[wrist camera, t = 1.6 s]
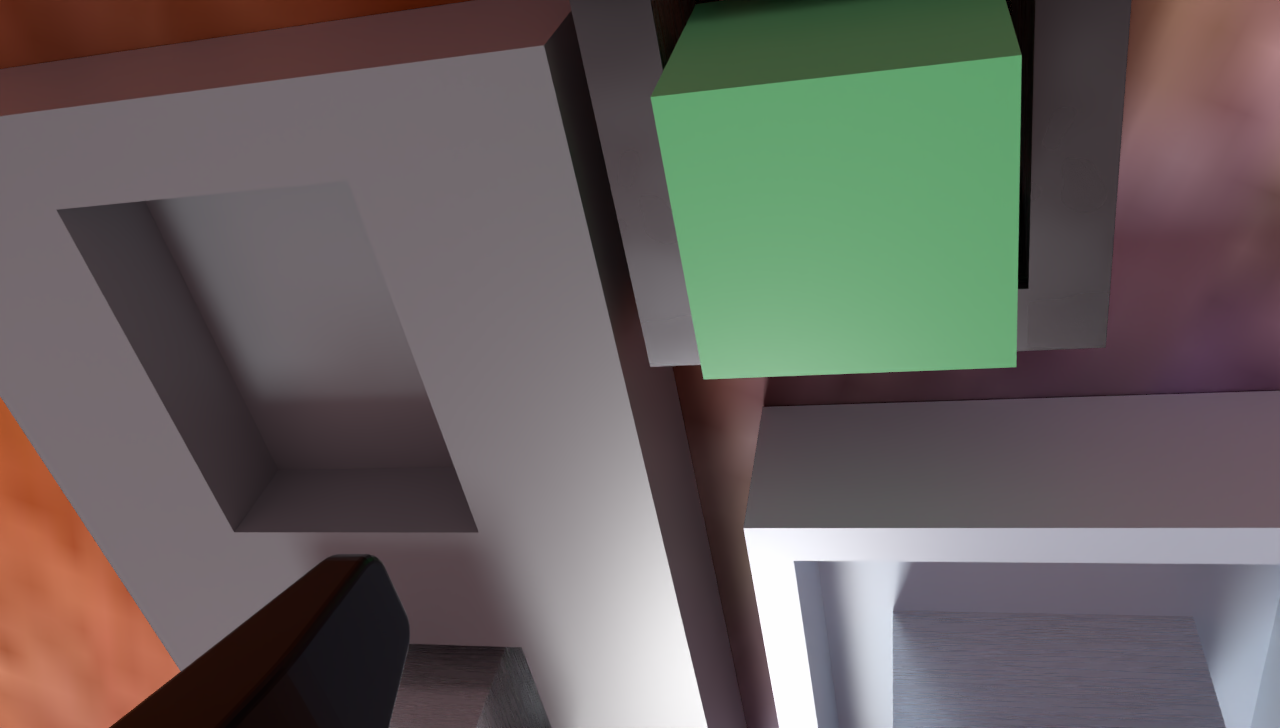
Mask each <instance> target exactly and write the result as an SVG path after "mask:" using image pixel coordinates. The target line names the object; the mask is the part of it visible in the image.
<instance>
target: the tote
mask: <svg viewBox="0 0 1280 728" xmlns="http://www.w3.org/2000/svg"><path fill="white" fill-rule="evenodd" d="M744 534H745V540H746V545H747V551H748V556H749V562H750V567H751V573H752V579H753V584H754V590H755V595H756V601H757V606H758V612H759V618H760V623H761V629H762V634H763V640H764V646H765V651H766V657H767V662H768V668H769V673H770V679H771V685H772V690H773V696H774V701H775V707H776V713H777V718H778V724H779V728H893V611H944V612H994V613H1044V614H1094V615H1145V616H1193V619H1194V622H1195V625H1196V629H1197V632H1198V636H1199V639H1200V642H1201V646H1202V649H1203V652H1204V656H1205V659H1206V662H1207V666H1208V669H1209V672H1210V676H1211V679H1212V682H1213V686H1214V689H1215V692H1216V696H1217V699H1218V702H1219V706H1220V709H1221V712H1222V716H1223V719H1224V722H1225V726H1226V728H1280V391H1255V392H1223V393H1191V394H1159V395H1127V396H1095V397H1063V398H1031V399H999V400H967V401H935V402H903V403H871V404H839V405H807V406H775V407H763V409H762V415H761V421H760V427H759V434H758V440H757V446H756V453H755V459H754V465H753V471H752V478H751V484H750V490H749V496H748V503H747V509H746V515H745V522H744Z"/></svg>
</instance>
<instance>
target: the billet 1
mask: <svg viewBox="0 0 1280 728" xmlns="http://www.w3.org/2000/svg"><path fill="white" fill-rule="evenodd" d="M389 728H552V727H551V725H550V722H549V719H548V717H547V714H546V711H545V709H544V706H543V703H542V701H541V698H540V695H539V693H538V690H537V687H536V685H535V682H534V679H533V676H532V674H531V671H530V668H529V666H528V663H527V660H526V658H525V655H524V652H523V650H522V647H495V646H464V645H433V644H409V648H408V653H407V657H406V661H405V665H404V669H403V673H402V677H401V681H400V685H399V689H398V693H397V698H396V702H395V706H394V710H393V714H392V718H391V722H390V726H389Z"/></svg>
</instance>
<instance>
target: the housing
mask: <svg viewBox="0 0 1280 728" xmlns="http://www.w3.org/2000/svg"><path fill="white" fill-rule="evenodd" d="M569 2H570V6H571V11H572V15H573V20H574V24H575V29H576V33H577V38H578V42H579V47H580V51H581V56H582V60H583V65H584V69H585V74H586V78H587V83H588V88H589V92H590V97H591V101H592V106H593V110H594V115H595V119H596V124H597V128H598V133H599V137H600V142H601V146H602V151H603V155H604V160H605V164H606V169H607V173H608V178H609V183H610V187H611V192H612V196H613V201H614V205H615V210H616V214H617V219H618V223H619V228H620V232H621V237H622V241H623V246H624V250H625V255H626V259H627V264H628V268H629V273H630V278H631V282H632V287H633V291H634V296H635V300H636V305H637V309H638V314H639V318H640V323H641V327H642V332H643V336H644V341H645V345H646V350H647V354H648V359H649V363H650V367H660V366H683V365H701V363H700V358H699V352H698V347H697V342H696V336H695V331H694V326H693V321H692V315H691V310H690V305H689V299H688V294H687V289H686V283H685V278H684V273H683V267H682V262H681V257H680V251H679V246H678V241H677V235H676V230H675V225H674V219H673V214H672V209H671V203H670V198H669V193H668V187H667V182H666V177H665V171H664V166H663V161H662V156H661V150H660V145H659V140H658V134H657V129H656V124H655V118H654V113H653V108H652V102H651V95H652V93H653V91H654V89H655V87H656V85H657V83H658V81H659V79H660V77H661V75H662V73H663V70H664V68H665V66H666V64H667V62H668V60H669V58H670V56H671V54H672V52H673V50H674V48H675V46H676V44H677V42H678V40H679V38H680V36H681V34H682V32H683V30H684V28H685V26H686V23H687V21H688V19H689V17H690V15H691V13H692V11H693V9H694V7H695V0H569ZM1130 13H1131V0H1012V24H1013V27H1014V30H1015V34H1016V37H1017V41H1018V44H1019V47H1020V51H1021V54H1022V67H1021V126H1020V184H1019V243H1018V301H1017V351H1035V350H1058V349H1082V348H1105V347H1106V337H1107V323H1108V310H1109V296H1110V283H1111V269H1112V256H1113V242H1114V229H1115V216H1116V202H1117V189H1118V175H1119V162H1120V148H1121V135H1122V121H1123V108H1124V94H1125V81H1126V67H1127V54H1128V40H1129V27H1130Z"/></svg>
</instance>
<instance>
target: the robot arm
mask: <svg viewBox="0 0 1280 728" xmlns="http://www.w3.org/2000/svg"><path fill="white" fill-rule="evenodd" d="M409 643H410V625H409V619H408V616H407V613H406V611H405V609H404V607H403V605H402V603H401V600H400V598H399V596H398V594H397V592H396V590H395V587H394V585H393V583H392V581H391V579H390V577H389V574H388V572H387V570H386V568H385V566H384V564H383V562H382V561H381V560H380V559H378V558H377V557H376V556H375V555H371V554H336V555H332V556H329V557H327V558H326V559H324V560H323V561H321V562H320V563H319V564H317V565H316V566H315V567H314V568H312V569H311V570H310V571H309V572H307V573H306V574H305V575H303V576H302V577H301V578H300V579H298V580H297V581H296V582H295V583H293V584H292V585H291V586H289V587H288V588H287V589H286V590H284V591H283V592H282V593H280V594H279V595H278V596H277V597H275V598H274V599H273V600H272V601H270V602H269V603H268V604H266V605H265V606H264V607H263V608H261V609H260V610H259V611H258V612H256V613H255V614H254V615H252V616H251V617H250V618H249V619H247V620H246V621H245V622H243V623H242V624H241V625H240V626H238V627H237V628H236V629H235V630H233V631H232V632H231V633H229V634H228V635H227V636H226V637H224V638H223V639H222V640H221V641H219V642H218V643H217V644H215V645H214V646H213V647H212V648H210V649H209V650H208V651H206V652H205V653H204V654H203V655H201V656H200V657H199V658H198V659H196V660H195V661H194V662H192V663H191V664H190V665H189V666H187V667H186V668H185V669H184V670H182V671H181V672H180V673H178V674H177V675H176V676H175V677H173V678H172V679H171V680H170V681H168V682H167V683H166V684H164V685H163V686H162V687H161V688H159V689H158V690H157V691H155V692H154V693H153V694H152V695H150V696H149V697H148V698H147V699H145V700H144V701H143V702H141V703H140V704H139V705H138V706H136V707H135V708H134V709H133V710H131V711H130V712H129V713H127V714H126V715H125V716H124V717H122V718H121V719H120V720H118V721H117V722H116V723H115V724H113V725H112V726H111V727H110V728H389V726H390V722H391V718H392V714H393V710H394V706H395V702H396V698H397V693H398V689H399V685H400V681H401V677H402V673H403V669H404V665H405V661H406V657H407V653H408V648H409Z"/></svg>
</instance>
